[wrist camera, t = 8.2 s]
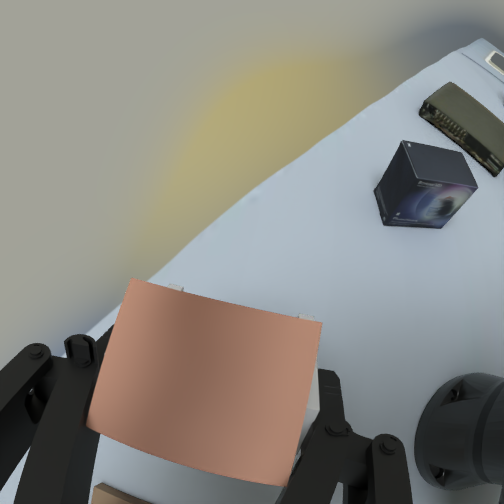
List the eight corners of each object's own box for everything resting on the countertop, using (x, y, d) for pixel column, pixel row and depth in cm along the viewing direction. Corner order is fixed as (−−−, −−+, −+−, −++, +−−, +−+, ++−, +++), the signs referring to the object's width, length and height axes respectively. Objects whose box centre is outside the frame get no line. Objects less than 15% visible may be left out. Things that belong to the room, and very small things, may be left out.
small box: (382, 228, 38) (416, 178, 29) (372, 190, 41) (399, 137, 32) (442, 231, 38) (481, 188, 29) (430, 195, 41) (461, 150, 32)
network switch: (413, 120, 51) (421, 102, 46) (434, 88, 60) (440, 73, 55) (502, 188, 45) (514, 173, 40) (505, 140, 53) (513, 127, 49)
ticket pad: (279, 364, 18) (322, 322, 9) (262, 438, 16) (286, 486, 6) (188, 342, 19) (131, 277, 9) (168, 414, 17) (85, 426, 7)
